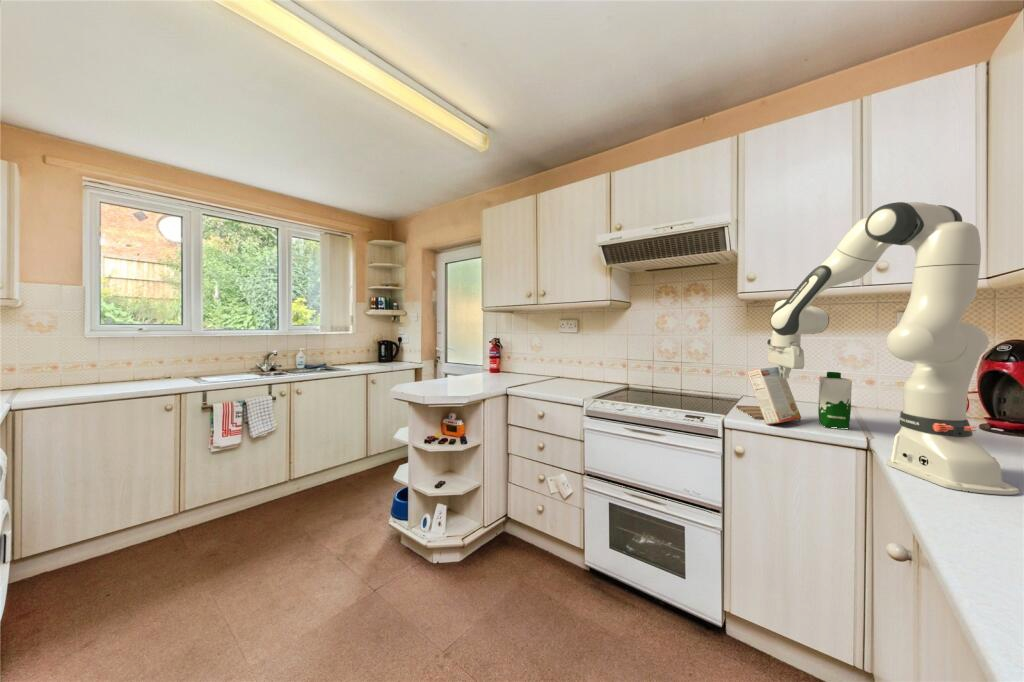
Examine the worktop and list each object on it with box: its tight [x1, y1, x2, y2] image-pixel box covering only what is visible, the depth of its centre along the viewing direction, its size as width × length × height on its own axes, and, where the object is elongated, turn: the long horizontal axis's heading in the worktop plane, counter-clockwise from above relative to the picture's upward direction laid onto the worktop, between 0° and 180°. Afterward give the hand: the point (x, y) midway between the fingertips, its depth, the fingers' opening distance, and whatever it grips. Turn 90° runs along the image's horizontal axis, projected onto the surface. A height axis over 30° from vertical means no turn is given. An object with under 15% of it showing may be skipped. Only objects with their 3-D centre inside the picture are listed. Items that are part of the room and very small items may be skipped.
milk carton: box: [817, 371, 853, 430], centre depth 138 cm, size 9×9×20 cm
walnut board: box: [735, 405, 801, 421], centre depth 158 cm, size 20×16×1 cm
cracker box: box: [747, 366, 802, 425], centre depth 145 cm, size 14×6×21 cm, turn 115°
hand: (784, 378), depth 142 cm, fingers closed
